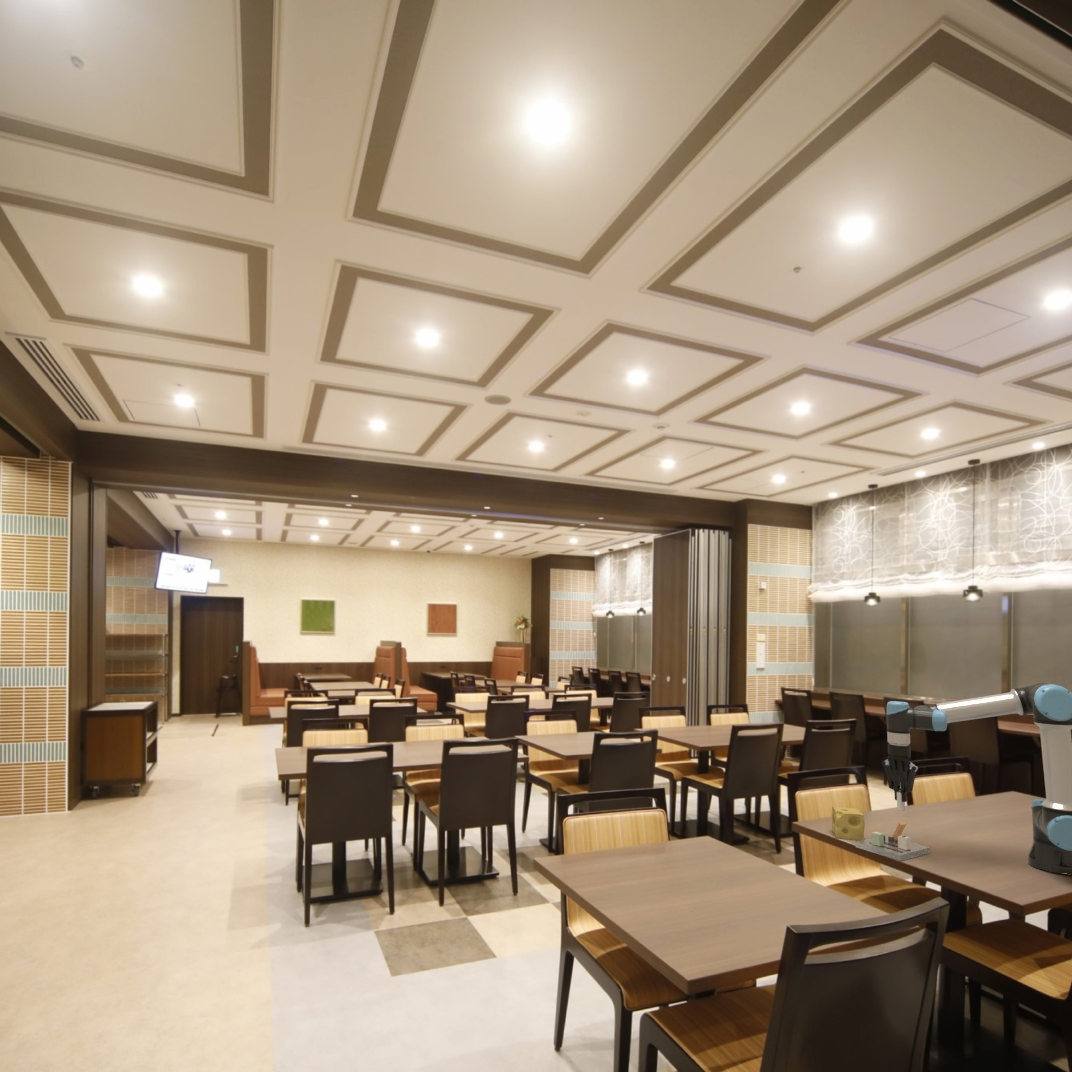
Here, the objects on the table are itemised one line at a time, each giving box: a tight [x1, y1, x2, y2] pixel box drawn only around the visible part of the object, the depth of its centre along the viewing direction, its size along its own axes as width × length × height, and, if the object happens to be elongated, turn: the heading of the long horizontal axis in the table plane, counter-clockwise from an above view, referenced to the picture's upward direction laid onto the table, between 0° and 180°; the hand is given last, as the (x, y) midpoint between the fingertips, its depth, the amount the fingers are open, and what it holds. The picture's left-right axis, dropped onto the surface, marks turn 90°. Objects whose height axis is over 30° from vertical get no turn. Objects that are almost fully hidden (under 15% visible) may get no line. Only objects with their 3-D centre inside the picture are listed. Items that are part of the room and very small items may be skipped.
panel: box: [854, 834, 931, 862], centre depth 258 cm, size 17×20×4 cm
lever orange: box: [892, 821, 906, 842], centre depth 261 cm, size 1×3×8 cm, turn 122°
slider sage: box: [870, 831, 885, 846], centre depth 257 cm, size 3×3×4 cm
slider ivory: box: [898, 834, 911, 850], centre depth 253 cm, size 3×3×4 cm
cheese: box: [831, 806, 866, 841], centre depth 274 cm, size 10×11×10 cm
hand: (901, 810), depth 254 cm, fingers closed
